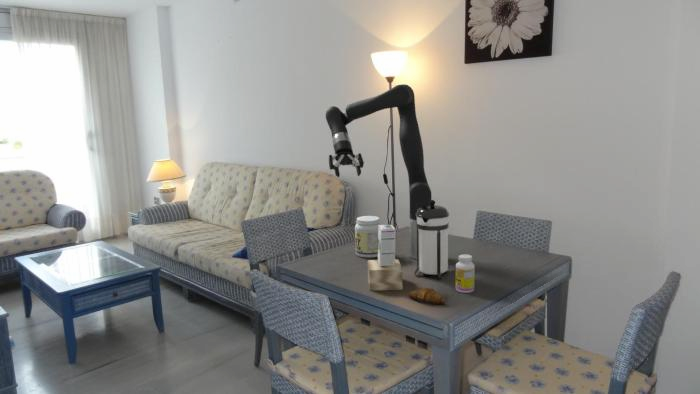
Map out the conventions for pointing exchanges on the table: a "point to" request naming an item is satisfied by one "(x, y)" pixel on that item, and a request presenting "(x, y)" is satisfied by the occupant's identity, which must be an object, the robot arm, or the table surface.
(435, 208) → the coffee press
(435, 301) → the croissant
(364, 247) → the supplement tub
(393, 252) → the syrup box
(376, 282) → the riser block
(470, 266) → the supplement bottle
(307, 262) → the table surface
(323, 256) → the table surface
